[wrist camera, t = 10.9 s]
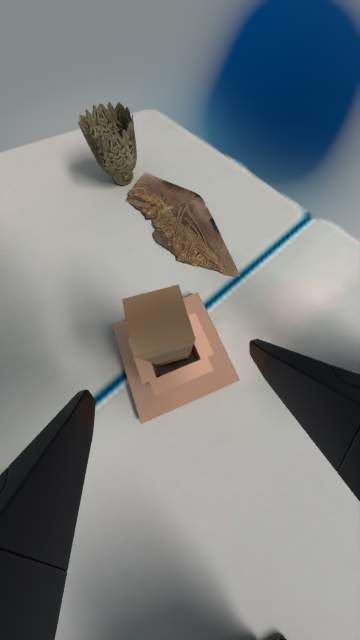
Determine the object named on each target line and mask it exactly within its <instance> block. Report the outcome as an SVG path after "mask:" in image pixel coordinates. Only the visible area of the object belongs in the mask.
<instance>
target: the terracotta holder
mask: <svg viewBox="0 0 360 640" xmlns="http://www.w3.org/2000/svg"><path fill="white" fill-rule="evenodd" d="M183 300H184V303H185V307H186V310H187V313H188V316H189V319H190V323H191V326H192V329H193V332H194V335H195V338H196V340H195V342H194V345H193V347H192V350H191V352H190V355H189V358H188V360H184V361H181V362H177V363H174V364H171V365H167V366H164V367H163V366H160V365H157V364H154V363H151V362H148V361H145V360H142V359H139V358H136V357H134V356H133V351H132V346H131V341H130V336H129V331H128V326H127V321H126V320H124V321H121V322H118V323H116V324H113V325H112V327H113V331H114V334H115V338H116V341H117V344H118V348H119V351H120V354H121V358H122V361H123V364H124V368H125V371H126V375H127V378H128V381H129V385H130V388H131V391H132V395H133V398H134V402H135V405H136V408H137V412H138V415H139V418H140V422H141V424H142V423H144V422H146V421H149V420H151V419H153V418H155V417H158V416H160V415H162V414H164V413H167V412H169V411H171V410H173V409H176V408H178V407H180V406H182V405H185V404H187V403H189V402H191V401H194V400H196V399H198V398H200V397H203V396H205V395H207V394H209V393H212V392H214V391H216V390H218V389H221V388H223V387H225V386H227V385H230V384H232V383H234V382H236V381H239V380H240V379H239V377H238V375H237V373H236V371H235V369H234V367H233V365H232V363H231V360H230V358H229V356H228V354H227V352H226V350H225V348H224V346H223V344H222V342H221V340H220V338H219V335H218V333H217V331H216V329H215V327H214V325H213V323H212V321H211V319H210V317H209V315H208V313H207V311H206V308H205V306H204V304H203V302H202V300H201V298H200V296H199V294H198V293H195V294H193V295H190V296H187V297H185V298H183Z"/></svg>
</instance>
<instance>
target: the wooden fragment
mask: <svg viewBox="0 0 360 640" xmlns="http://www.w3.org/2000/svg"><path fill="white" fill-rule="evenodd" d="M128 195H129V196H128V198H127V200H126V202H129V203H130V204H132V205H134V207H135V208H136V209H138V210H140V211H141V212H142V213H143V215H144V216H145V218H146V220H147V219H151V220H152V222H153V226H154V228H155V229H156V230H155V231H154V233H153V235H154V238H155V240H156V241H157V243H158V244H161V245H163V246H164V247H165V248H167V249H168V250H170V251H171V252H172V253H173V254H174V255H175V256H176V260H177V261H179V262H182V263H186V264H190V265H192V266H197V267H198V266H200V267H202V268H208V269H212V270H215V271H220V272H221V273H222V274H224V275H226V276H234V277H235V276H240V275H239V273H238V270H237V268H236V266H235V264H234V262H233V260H232V258H231V256H230V253H229V252H228V249H227V248H226V246H225V243H224V242H223V239H222V237H221V235H220V232H219V230H218V228H217V226H216V224H215V222H214V220H213V218H212V216H211V214H210V212H209V210H208V208H207V207H206V206H205V202H204V201H203V199H202V198H201V196H200V195H198V194H196V193H194V192H192V191H190V190H187V189H185V188H182V187H179V186H177V185H175V184H172V183H170V182H167V181H165V180H162V179H159V178H157V177H155V176H153V175H151V174H149V173H145V174H144V175H143V176H142V177H141V178H140V179H139V180H138V181H137V182H136V184H135V186H134V188H132V189H131V190H130V191H129V192H128Z"/></svg>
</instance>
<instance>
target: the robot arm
mask: <svg viewBox="0 0 360 640" xmlns="http://www.w3.org/2000/svg"><path fill="white" fill-rule="evenodd" d="M250 355H251V357H252V359H253V360H254V362H255V364H256V365H257V367H258V368H259V370H260V372H261V373H262V375H263V377H264V378H265V380H266V381H267V382H268V384H269V385H270V386H271V387H272V389H273V390H274V391H275V393H276V394H277V395H278V397H279V398H280V399H281V400H282V402H283V403H284V404H285V406H286V407H287V408H288V409H289V411H290V412H291V413H292V415H293V416H294V417H295V418H296V420H297V421H298V422H299V424H300V425H301V426H302V428H303V429H304V430H305V431H306V433H307V434H308V435H309V437H310V438H311V439H312V440H313V442H314V443H315V444H316V446H317V447H318V448H319V449H320V451H321V452H322V453H323V455H324V456H325V457H326V458H327V460H328V461H329V462H330V464H331V465H332V466H333V468H334V469H335V470H336V471H337V472H338V474H339V475H340V477H341V478H342V479H343V481H344V482H345V483H346V484H347V486H348V487H349V488H350V490H351V491H352V492H353V494H354V495H355V496H356V497H357V499H358V500H359V501H360V374H357V373H354V372H351V371H348V370H345V369H342V368H339V367H336V366H333V365H330V364H327V363H325V362H322V361H319V360H316V359H313V358H310V357H308V356H305V355H302V354H299V353H296V352H293V351H291V350H288V349H285V348H282V347H279V346H276V345H273V344H271V343H268V342H265V341H262V340H259V339H254V340H251V341H250ZM94 416H95V399H94V398H93V396H92V395H91V393H90V392H89V390H83V391H79V392H78V393H77V394H76V395H75V396H74V397H73V398H72V399H71V400H70V401H69V402H68V404H67V405H66V406H65V407H64V408H63V409H62V410H61V411H60V412H59V413H58V414H57V415H56V416H55V417H54V418H53V420H52V421H51V422H50V423H49V424H48V425H47V426H46V427H45V428H44V429H43V430H42V431H41V432H40V433H39V434H38V436H37V437H36V438H35V439H34V440H33V441H32V442H31V443H30V444H29V445H28V446H27V447H26V448H25V449H24V450H23V451H22V453H21V454H20V455H19V456H18V457H17V458H16V459H15V460H14V461H13V462H12V463H11V464H10V465H9V468H7V469H6V470H5V471H4V472H3V473H2V474H1V475H0V640H55V635H56V629H57V624H58V619H59V613H60V608H61V603H62V597H63V592H64V587H65V581H66V576H67V569H68V564H69V559H70V554H71V548H72V543H73V538H74V532H75V527H76V522H77V516H78V511H79V506H80V500H81V495H82V490H83V484H84V479H85V474H86V468H87V463H88V458H89V452H90V447H91V442H92V436H93V428H94ZM280 640H286V639H284V638H283V639H280Z"/></svg>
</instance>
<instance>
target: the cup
mask: <svg viewBox="0 0 360 640" xmlns="http://www.w3.org/2000/svg"><path fill="white" fill-rule="evenodd" d="M86 115H87V117H85V116H82V115H79V119H80V122H78V124H79V126H80V128H81V130H82V132H83V135H84V137H85V139H86V141H87V143H88V145H89V147H90V149H91V151H92V152H93V154H94V156H95V158H96V160H97V162H98V163H99V165H100V166H101V168H102V169H103V170H104V171H105V172H106V173H108V174H109V175H111V176H112V178H113V180H114V181H115V182H116V183H117V184H119V185H127V184H129V183H130V182H131V181H132V179H133V172H132V171H133V169H134V168H135V165H136V160H137V152H136V141H135V132H134V124H133V115H132V119H131V117H130V111H129V109H128V107H126V110H125V108H124V107H123V105H121V104H120V103H118V104H117V106H116V108H115V110H114V109H113V106H112V105H111V103H108V110H106V108H105V107H104V105H102V104H99V106H98V108H97V107H96V106H95V105H93V112H92V115H93V116H92V115H91V114H90V113H89V112H88V110H86Z"/></svg>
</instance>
